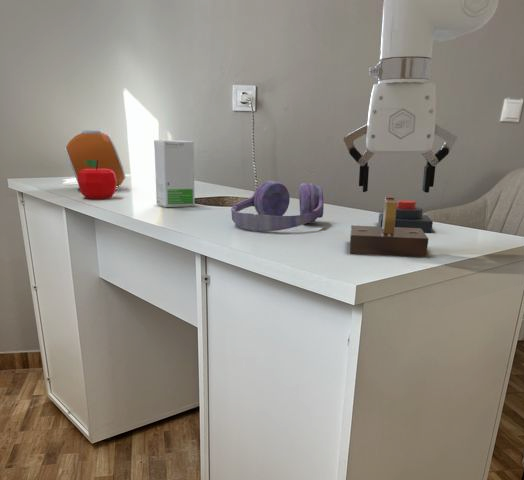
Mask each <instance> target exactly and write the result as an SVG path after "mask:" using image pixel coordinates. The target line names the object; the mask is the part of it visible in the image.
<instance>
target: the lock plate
mask: <svg viewBox="0 0 524 480" xmlns="http://www.w3.org/2000/svg"><path fill="white" fill-rule="evenodd" d="M349 237H350V238H349V254H350V255H364V256H365V255H366V256H389V257H407V258H408V257H410V258H427V253H428V245H429V237H428V236H427V235H426V232H423V230H422V229H421V228H401V227H394V234H384V232H383V229H382V227H379V226H375V225H374V226H372V225H350V236H349Z"/></svg>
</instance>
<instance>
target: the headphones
mask: <svg viewBox="0 0 524 480" xmlns="http://www.w3.org/2000/svg"><path fill="white" fill-rule="evenodd" d="M298 189H299V191H298V192H299V193H298V195H299V196H298V197H299V198H298V199H299V200H298V201H299V214H298V215H297V214H296V215H285V214H286V213H287V211H288V209H289V206H290V200H291V198H290V193H289V190H288V188H287V186H286V185H285V184H283V182H281V181H275V180H267V181H264V182H263V183H261V184H260V185H258V186H257V188H256V189H255V191H254V193H253V194H252V196H250V197H248V198H246V199H242V200H240V201H238V202H236V203H235V204H234V205H233V206H231V209H230V210H231V211H230V212H231V220H232V221H233V223H234V224H235V225H236V226H238V227H239V228H242V229H244V230H248V231H251V232H259V233H263V232H264V233H268V232H277V231H283V230H288V229H293V228H297V227H300V226H303V225H305V224H308V223H314V222H316V220H318V219H319V218H323V217H324V190H323V187H322V186H316V185H315V184H314V183H306V182H303V183H301V184H300V185H299V188H298ZM251 207H254V209H255V211H256V214H255V213H251V212H250V213H249V212H241V211H242V210H245V209H247V208H251Z"/></svg>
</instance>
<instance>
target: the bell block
mask: <svg viewBox="0 0 524 480" xmlns="http://www.w3.org/2000/svg"><path fill="white" fill-rule="evenodd" d="M383 213H384V212H382V213H381V212H380V213H378V222H377V224H378V227H382V223H383ZM433 223H434V221H433V220H432V218H430V216H429V215H428V214H423V208H421V207H417V206H415V209H414V210H405V209H397V208H396V218H395V227H401V228H421V229H422V230H423V232H424V233H432V230H433Z"/></svg>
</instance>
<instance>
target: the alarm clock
mask: <svg viewBox="0 0 524 480" xmlns="http://www.w3.org/2000/svg"><path fill="white" fill-rule="evenodd" d="M64 152H65V155H66V158H67V160H68V162H69V165H70V167H71V169H72V171H73V175H74V177H75V179H76V182H77V183H78V172H80V171H81V170H83V169H96V167H95V168H94V167H90V166H89V165H87V164H86V163H84V162H83V161H88V160H95V161H96V162H97V160H99V161H98V168H97V169H110V170H112V171H114V172H115V175H116V179H117V183H116V186H118V188H119V187H120V186H121V185H122V184H123V182H124V181H125V179H126V173H125V170H124V167H123V164H122V161H121V158H120V156H119V153H118V151H117V148H116V146H115V143H114V141H113V139H112V136H111V135H109V134H106V133H104V132H103V131H102V130H101V129H83V130H82V132H81V133H78V134H76V135H75V136H74V137H72V138H71V139H70V140H69V141H68V143H67V145H66V146H65V147H64ZM119 185H120V186H119ZM116 188H117V187H116Z"/></svg>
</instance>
